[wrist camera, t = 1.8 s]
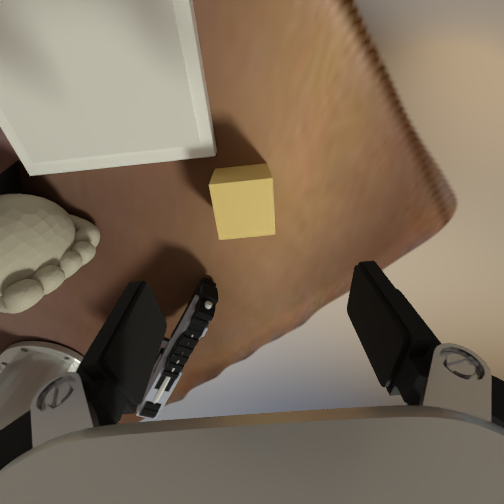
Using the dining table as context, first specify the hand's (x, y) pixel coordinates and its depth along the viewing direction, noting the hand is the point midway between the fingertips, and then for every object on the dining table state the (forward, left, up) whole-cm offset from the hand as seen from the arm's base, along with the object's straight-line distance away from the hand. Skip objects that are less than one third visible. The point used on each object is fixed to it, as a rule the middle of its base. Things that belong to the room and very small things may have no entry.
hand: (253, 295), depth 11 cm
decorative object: (-1, +19, -16) cm, 25 cm away
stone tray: (+12, +10, -15) cm, 22 cm away
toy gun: (-17, +11, -16) cm, 26 cm away
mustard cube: (0, 0, -15) cm, 15 cm away
